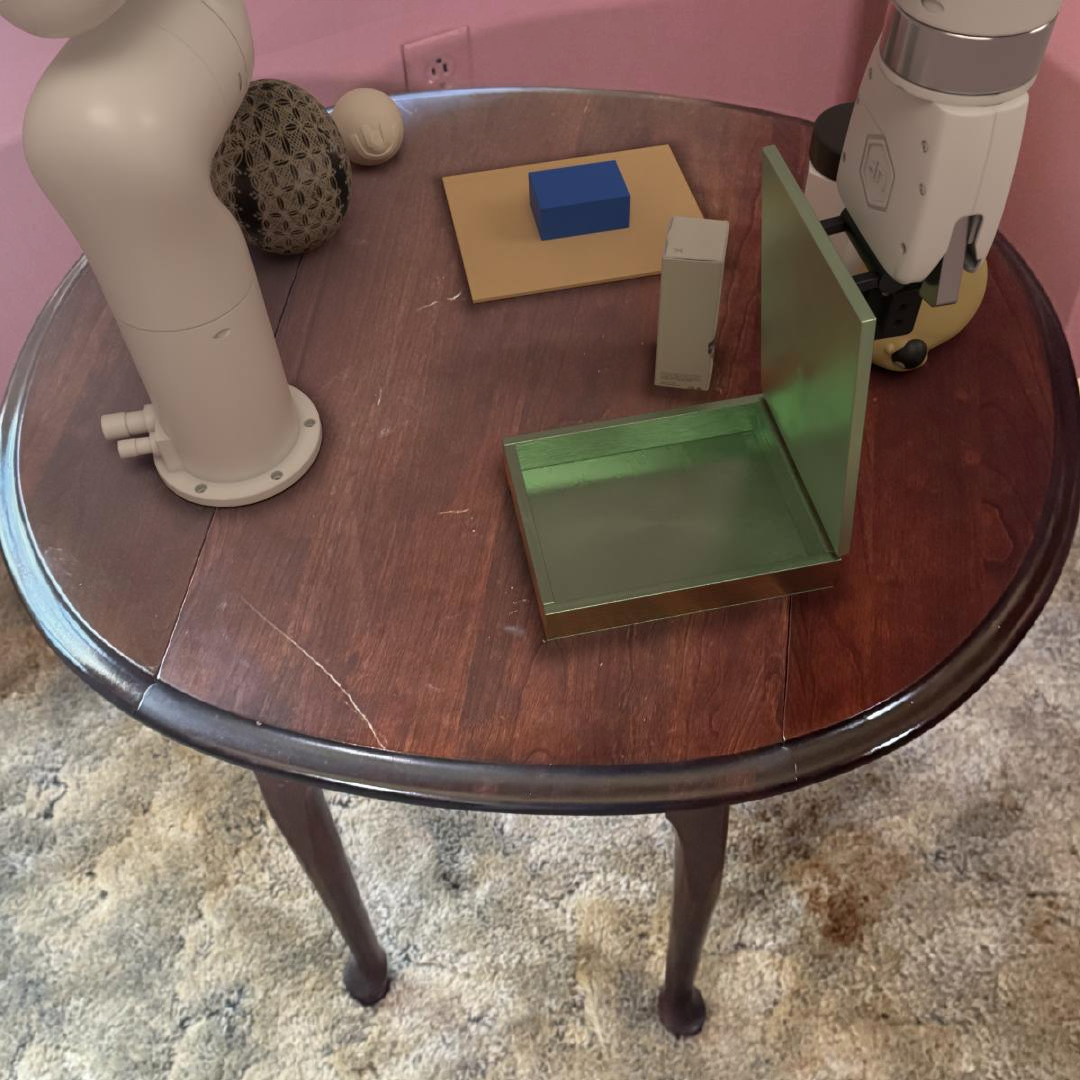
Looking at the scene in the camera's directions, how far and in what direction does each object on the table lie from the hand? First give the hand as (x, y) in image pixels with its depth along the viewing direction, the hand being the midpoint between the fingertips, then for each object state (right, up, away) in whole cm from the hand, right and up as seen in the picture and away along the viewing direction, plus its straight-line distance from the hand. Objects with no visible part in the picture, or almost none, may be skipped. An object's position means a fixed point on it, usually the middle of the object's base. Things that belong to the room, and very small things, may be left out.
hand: (881, 329), depth 67 cm
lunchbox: (-12, -12, +11) cm, 21 cm away
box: (-9, 0, +21) cm, 23 cm away
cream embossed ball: (-37, +24, +40) cm, 60 cm away
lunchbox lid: (-5, -2, +1) cm, 5 cm away
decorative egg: (-42, +14, +33) cm, 55 cm away
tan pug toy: (+8, +4, +23) cm, 25 cm away
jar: (+5, +12, +30) cm, 32 cm away
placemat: (-17, +16, +33) cm, 41 cm away
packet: (-17, +16, +33) cm, 41 cm away
